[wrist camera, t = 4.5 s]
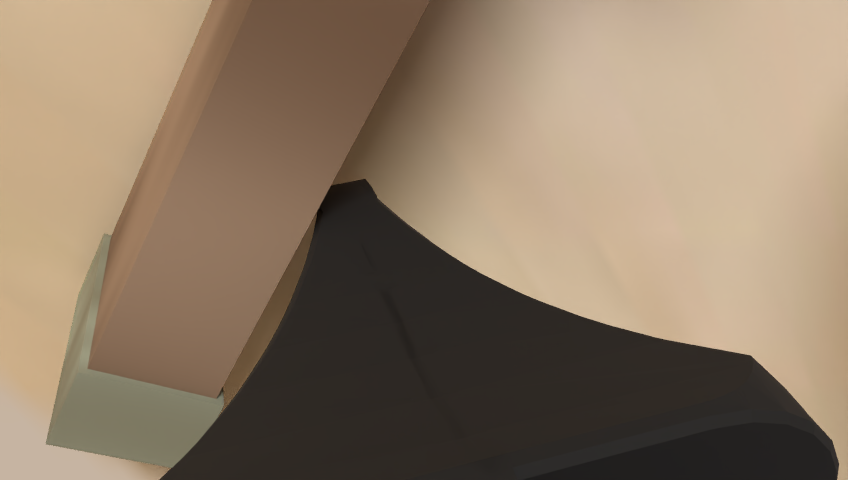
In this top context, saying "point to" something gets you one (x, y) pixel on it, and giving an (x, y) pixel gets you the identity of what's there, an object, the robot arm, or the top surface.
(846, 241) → the top surface
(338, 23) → the gate
